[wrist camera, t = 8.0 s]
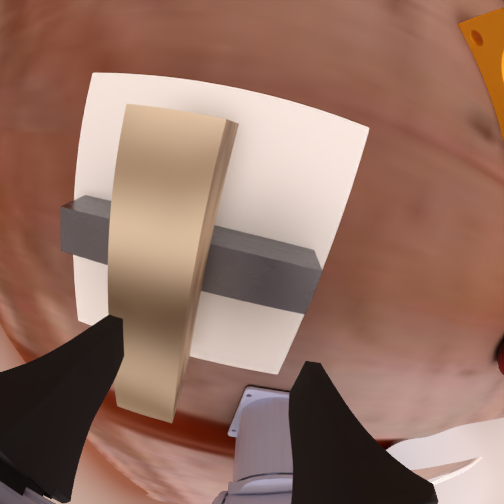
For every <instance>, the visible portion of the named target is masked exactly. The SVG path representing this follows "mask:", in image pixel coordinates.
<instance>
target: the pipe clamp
mask: <svg viewBox="0 0 504 504" xmlns="http://www.w3.org/2000/svg"><path fill="white" fill-rule="evenodd" d="M458 26H459V28H460V30H461V32H462V33H463V35H464V37H465V39H466V41H467V43H468V45H469V47H470V49H471V51H472V53H473V56H474V58H475V60H476V62H477V65H478V67H479V69H480V72H481V74H482V76H483V79H484V81H485V84H486V87H487V89H488V92H489V95H490V98H491V100H492V103H493V106H494V109H495V112H496V116H497V119H498V122H499V126H500V129H501V133H502V137H503V141H504V8H501V9H497V10H494V11H491V12H488V13H486V14H483V15H480V16H477V17H474V18H472V19H469V20H467V21H464V22H461V23H459V24H458Z"/></svg>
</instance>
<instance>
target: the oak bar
mask: <svg viewBox="0 0 504 504" xmlns="http://www.w3.org/2000/svg"><path fill="white" fill-rule="evenodd" d="M238 125H239V124H238V123H236V122H233V121H230V120H227V119H223V118H218V117H213V116H208V115H203V114H197V113H192V112H186V111H180V110H173V109H167V108H159V107H152V106H144V105H135V104H127V105H126V109H125V114H124V119H123V124H122V129H121V135H120V140H119V146H118V153H117V159H116V166H115V174H114V182H113V191H112V201H111V212H110V226H109V244H108V315H112V316H115V317H119V318H122V319H123V337H124V358H123V361H122V363H121V366H120V368H119V371H118V373H117V376H116V378H115V380H114V387H115V394H116V401H117V406H119V407H121V408H124V409H127V410H130V411H133V412H136V413H139V414H142V415H146V416H149V417H152V418H156V419H159V420H163V421H166V422H170V423H172V422H173V418H174V414H175V411H176V407H177V403H178V400H179V396H180V392H181V389H182V385H183V382H184V378H185V375H186V371H187V367H188V361H189V355H190V350H191V344H192V338H193V332H194V327H195V321H196V316H197V310H198V305H199V300H200V294H201V289H202V284H203V279H204V274H205V269H206V264H207V259H208V254H209V249H210V245H211V240H212V235H213V231H214V226H215V221H216V217H217V212H218V208H219V204H220V199H221V195H222V190H223V186H224V182H225V178H226V173H227V169H228V165H229V161H230V157H231V153H232V149H233V145H234V141H235V137H236V133H237V129H238Z"/></svg>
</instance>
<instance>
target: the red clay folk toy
mask: <svg viewBox="0 0 504 504" xmlns="http://www.w3.org/2000/svg"><path fill="white" fill-rule="evenodd" d="M497 359H498V365H499V369H500V371H501V373H502V374H503V375H504V340H503V342H502V345H501V346H500V349H499V352H498V354H497Z"/></svg>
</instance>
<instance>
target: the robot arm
mask: <svg viewBox="0 0 504 504" xmlns="http://www.w3.org/2000/svg"><path fill="white" fill-rule="evenodd" d="M123 358H124V337H123V319H122V318H119V317H115V316H112V315H108V316H106V317H105V318H103V319H102V320H100V321H99V322H97V323H96V324H94V325H93V326H91V327H90V328H88V329H87V330H85V331H84V332H82V333H81V334H79V335H78V336H76V337H75V338H73V339H72V340H70V341H68V342H67V343H65V344H63V345H62V346H60V347H58V348H57V349H55V350H53V351H51V352H50V353H48V354H46V355H44V356H42V357H40V358H37V359H35V360H33V361H31V362H29V363H26V364H23V365H21V366H18V367H15V368H12V369H9V370H6V371H3V372H0V504H55V503H53V502H51V501H50V500H48V499H46V498H44V497H43V495H44V496H46V497H48V498H50V499H52V498H53V499H55V500H57V501H59V502H61V503H67V502H69V501H71V494H72V489H73V484H74V479H75V475H76V470H77V467H78V463H79V459H80V455H81V453H82V449H83V446H84V443H85V440H86V437H87V434H88V432H89V429H90V426H91V424H92V421H93V419H94V417H95V415H96V413H97V411H98V409H99V407H100V406H101V404H102V402H103V400H104V398H105V396H106V394H107V393H108V391H109V389H110V387H111V385H112V383H113V382H114V380H115V378H116V376H117V373H118V371H119V368H120V366H121V363H122V361H123ZM228 435H229V436H231V437H236V446H235V457H234V469H233V481H234V482H229V485H228V491H223V492H221V493H220V494H219V495H218V496H217V497H216V498H215V499H214V501H213V502H212V504H437V503H438V499H437V495H436V492H435V489H434V486H433V484H432V483H430V482H429V481H427V480H425V479H423V478H422V477H420V476H418V475H417V474H415V473H414V472H412V471H411V470H409V469H408V468H406V467H405V466H404V465H402V464H401V463H400V462H399V461H397V460H396V459H395V458H394V457H392V456H391V455H390V454H389V453H388V452H387V451H386V450H385V449H384V448H382V447H381V446H380V445H379V444H378V443H377V442H376V441H375V439H374V438H373V437H372V436H371V435H370V434H369V433H368V432H367V431H366V430H365V428H364V427H363V426H362V425H361V424H360V422H359V421H358V420H357V418H356V417H355V416H354V414H353V413H352V412H351V410H350V409H349V407H348V406H347V405H346V403H345V402H344V400H343V399H342V397H341V396H340V394H339V393H338V391H337V389H336V388H335V386H334V385H333V383H332V381H331V380H330V378H329V376H328V375H327V373H326V371H325V370H324V368H323V367H322V365H321V363H316V362H309V361H306V362H305V364H304V366H303V368H302V370H301V372H300V374H299V375H298V377H297V379H296V381H295V383H294V385H293V387H292V389H291V391H290V393H289V392H282V391H275V390H269V389H263V388H257V387H251V386H250V387H247V388H246V389H245V391H244V393H243V396H242V398H241V401H240V403H239V406H238V408H237V411H236V413H235V416H234V418H233V421H232V423H231V426H230V428H229V430H228Z"/></svg>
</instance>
